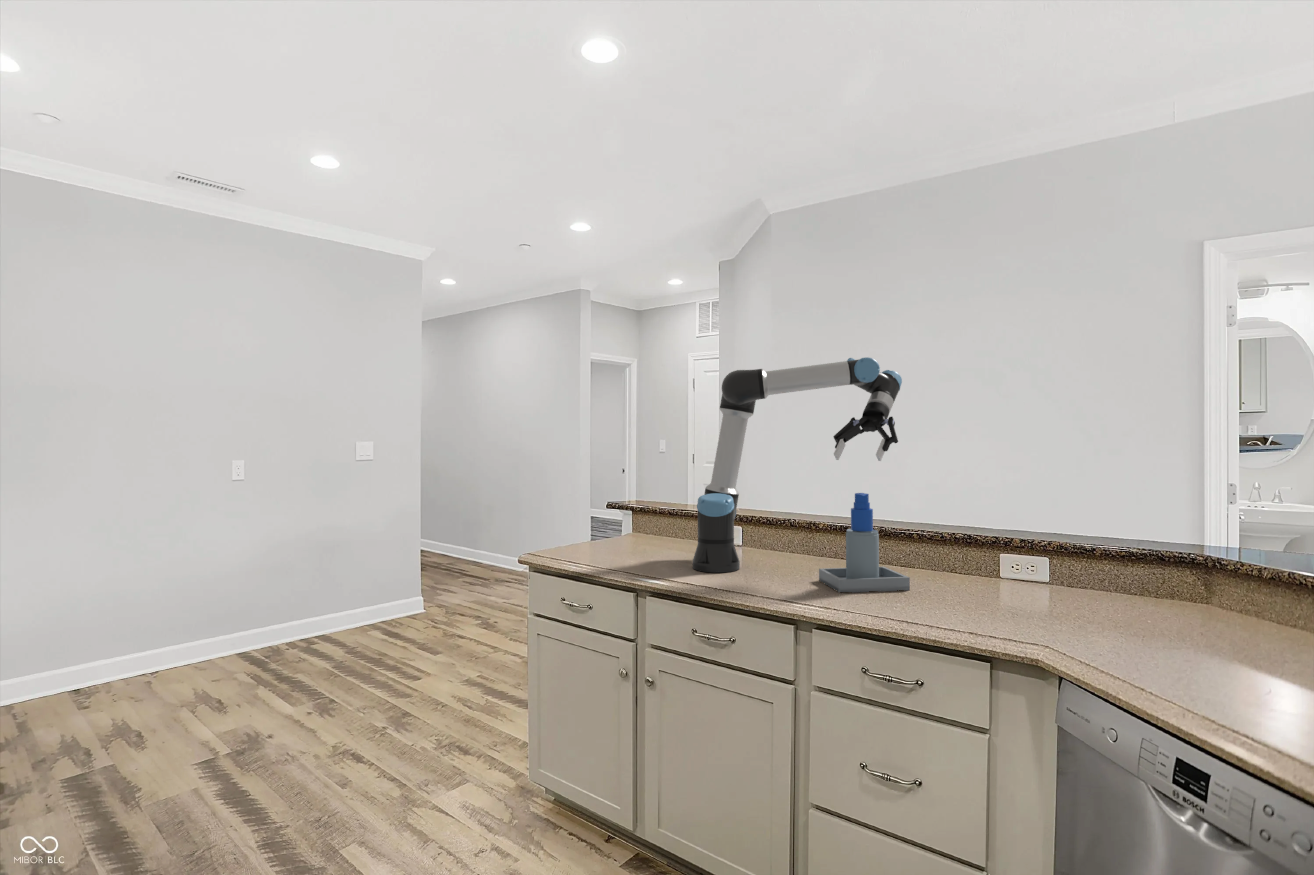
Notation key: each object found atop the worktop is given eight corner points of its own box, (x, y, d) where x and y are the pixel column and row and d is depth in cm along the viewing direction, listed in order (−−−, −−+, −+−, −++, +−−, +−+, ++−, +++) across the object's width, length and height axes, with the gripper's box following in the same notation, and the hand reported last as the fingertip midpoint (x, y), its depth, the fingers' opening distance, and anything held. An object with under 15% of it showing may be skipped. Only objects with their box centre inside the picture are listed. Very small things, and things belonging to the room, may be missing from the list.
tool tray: (819, 580, 189) (818, 568, 189) (883, 578, 192) (883, 566, 192) (839, 592, 174) (839, 579, 174) (909, 590, 177) (909, 577, 177)
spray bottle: (843, 577, 188) (842, 492, 188) (874, 578, 187) (874, 491, 187) (849, 585, 179) (848, 494, 179) (882, 585, 178) (882, 494, 178)
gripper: (920, 416, 201) (900, 466, 190) (845, 418, 218) (823, 464, 207) (913, 398, 197) (893, 449, 186) (837, 402, 214) (815, 448, 203)
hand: (856, 457), depth 196 cm, fingers open, 13 cm apart
